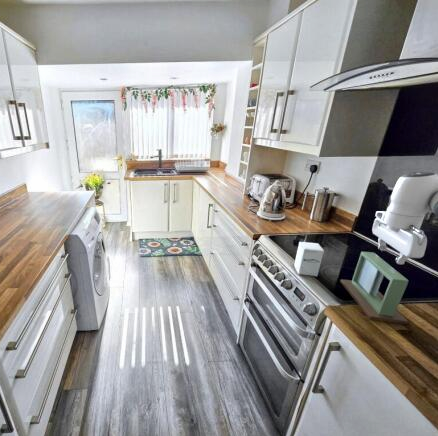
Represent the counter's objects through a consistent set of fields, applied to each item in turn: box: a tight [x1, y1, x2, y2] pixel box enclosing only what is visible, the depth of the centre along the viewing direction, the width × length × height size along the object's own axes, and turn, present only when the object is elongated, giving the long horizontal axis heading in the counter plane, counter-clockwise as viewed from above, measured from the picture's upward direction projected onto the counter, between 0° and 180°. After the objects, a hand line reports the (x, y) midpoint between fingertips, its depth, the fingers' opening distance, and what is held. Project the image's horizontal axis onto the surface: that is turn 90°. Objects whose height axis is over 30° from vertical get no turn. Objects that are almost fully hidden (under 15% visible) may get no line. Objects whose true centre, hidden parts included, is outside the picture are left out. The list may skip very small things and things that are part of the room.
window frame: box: [339, 251, 409, 325], centre depth 84 cm, size 10×21×15 cm, turn 165°
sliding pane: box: [371, 271, 385, 296], centre depth 86 cm, size 5×8×11 cm, turn 165°
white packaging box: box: [293, 241, 325, 277], centre depth 103 cm, size 7×7×13 cm
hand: (389, 256), depth 85 cm, fingers open, 8 cm apart
